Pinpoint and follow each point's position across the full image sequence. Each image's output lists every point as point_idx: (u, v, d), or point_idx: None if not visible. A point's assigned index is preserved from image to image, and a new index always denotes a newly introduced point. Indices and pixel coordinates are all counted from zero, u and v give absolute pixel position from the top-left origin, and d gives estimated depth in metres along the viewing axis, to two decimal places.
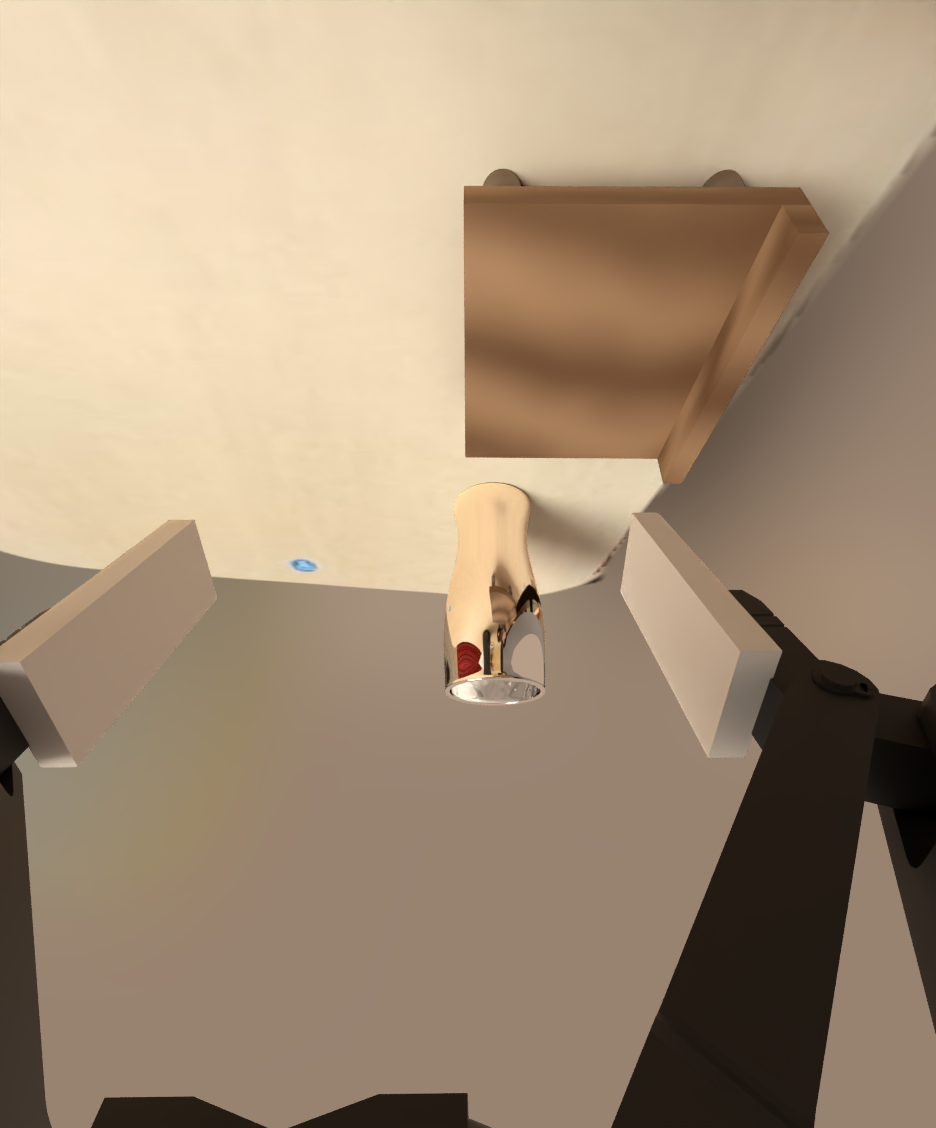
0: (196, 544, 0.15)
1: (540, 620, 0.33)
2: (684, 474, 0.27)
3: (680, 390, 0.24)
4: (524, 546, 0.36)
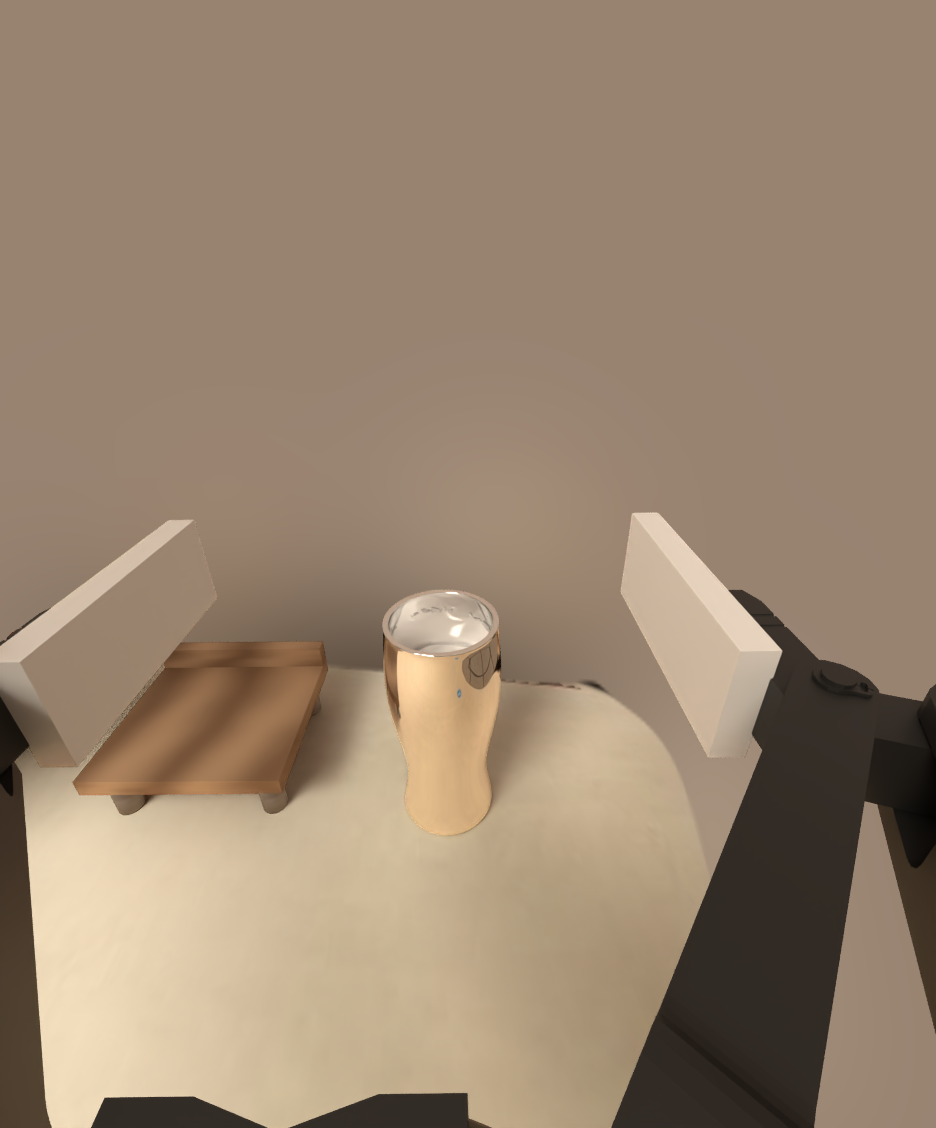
0: (196, 544, 0.15)
1: (419, 648, 0.33)
2: (313, 642, 0.41)
3: (261, 671, 0.41)
4: None
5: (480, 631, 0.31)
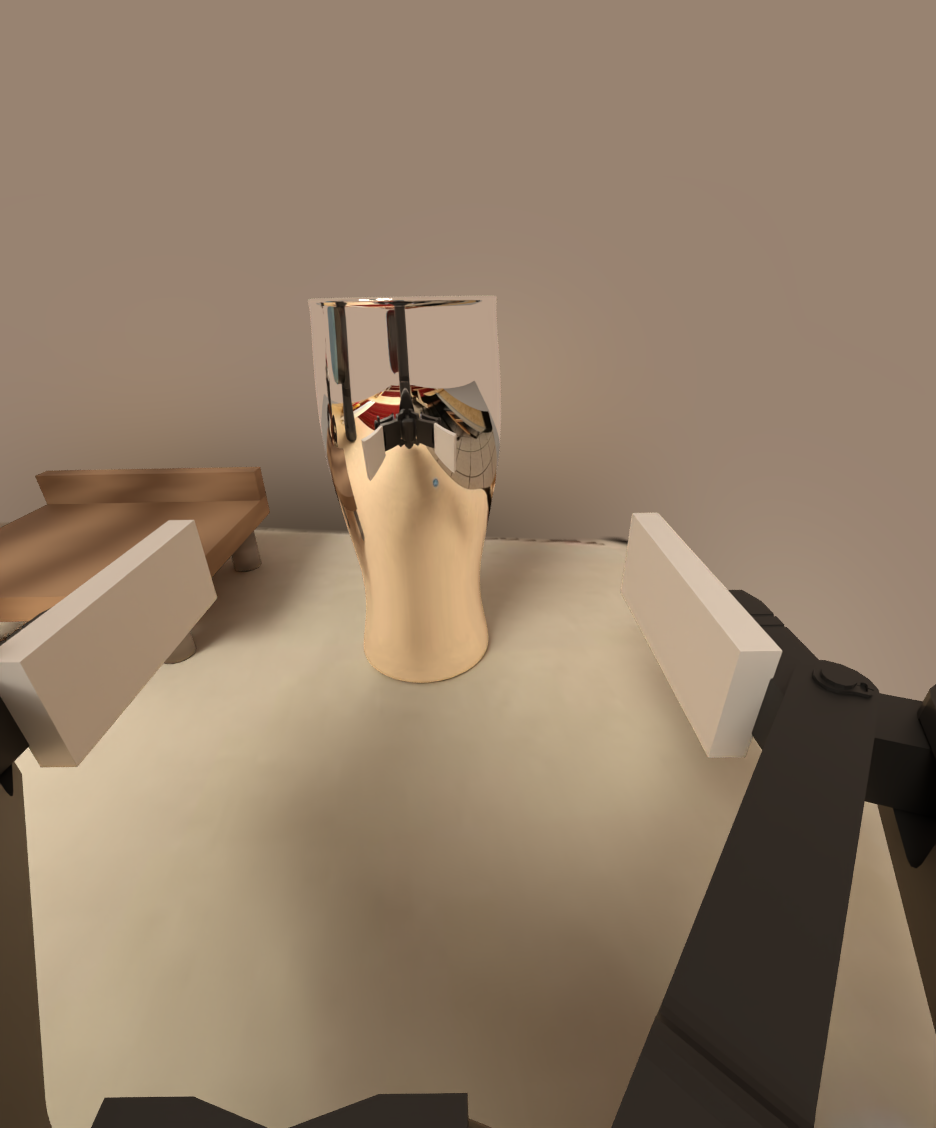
0: (196, 544, 0.15)
1: None
2: (246, 467, 0.30)
3: (176, 505, 0.30)
4: None
5: None
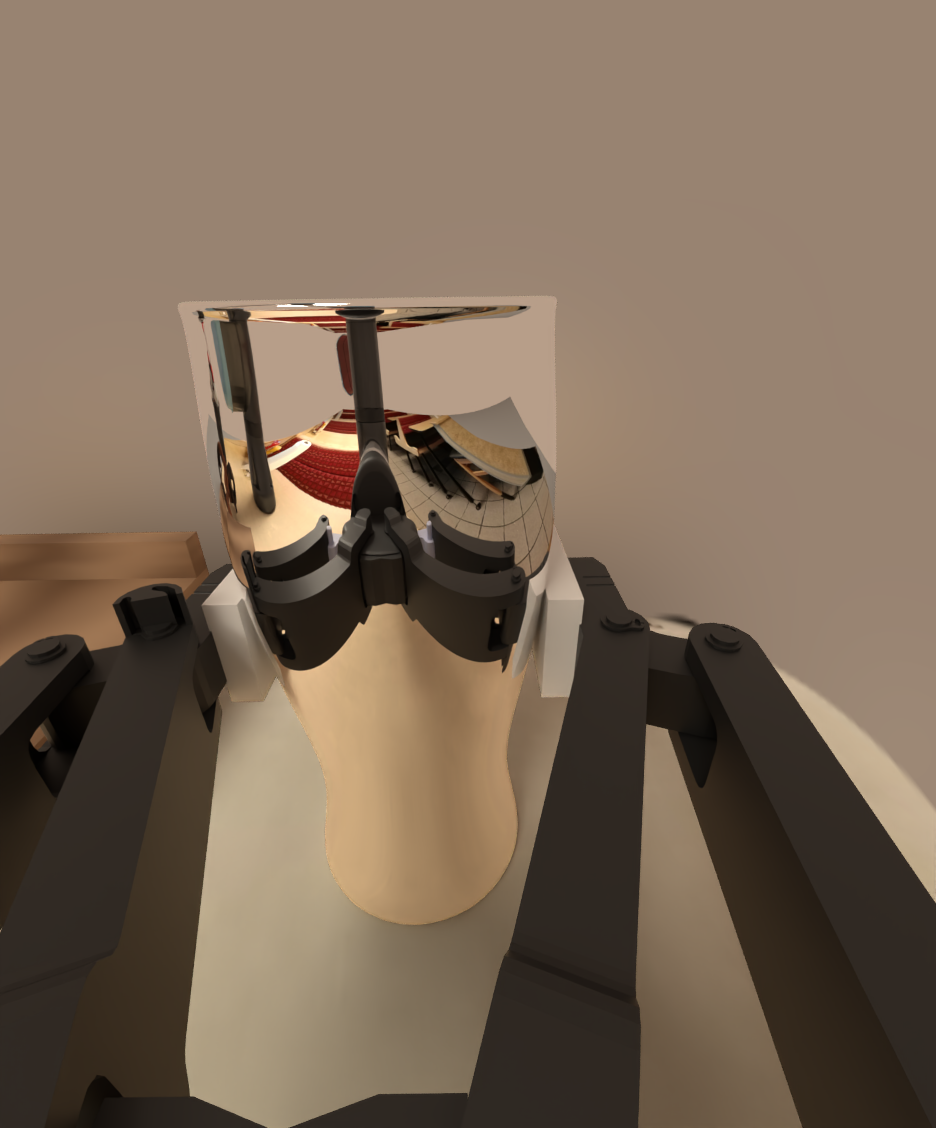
0: None
1: None
2: (177, 533, 0.22)
3: (79, 585, 0.22)
4: None
5: None
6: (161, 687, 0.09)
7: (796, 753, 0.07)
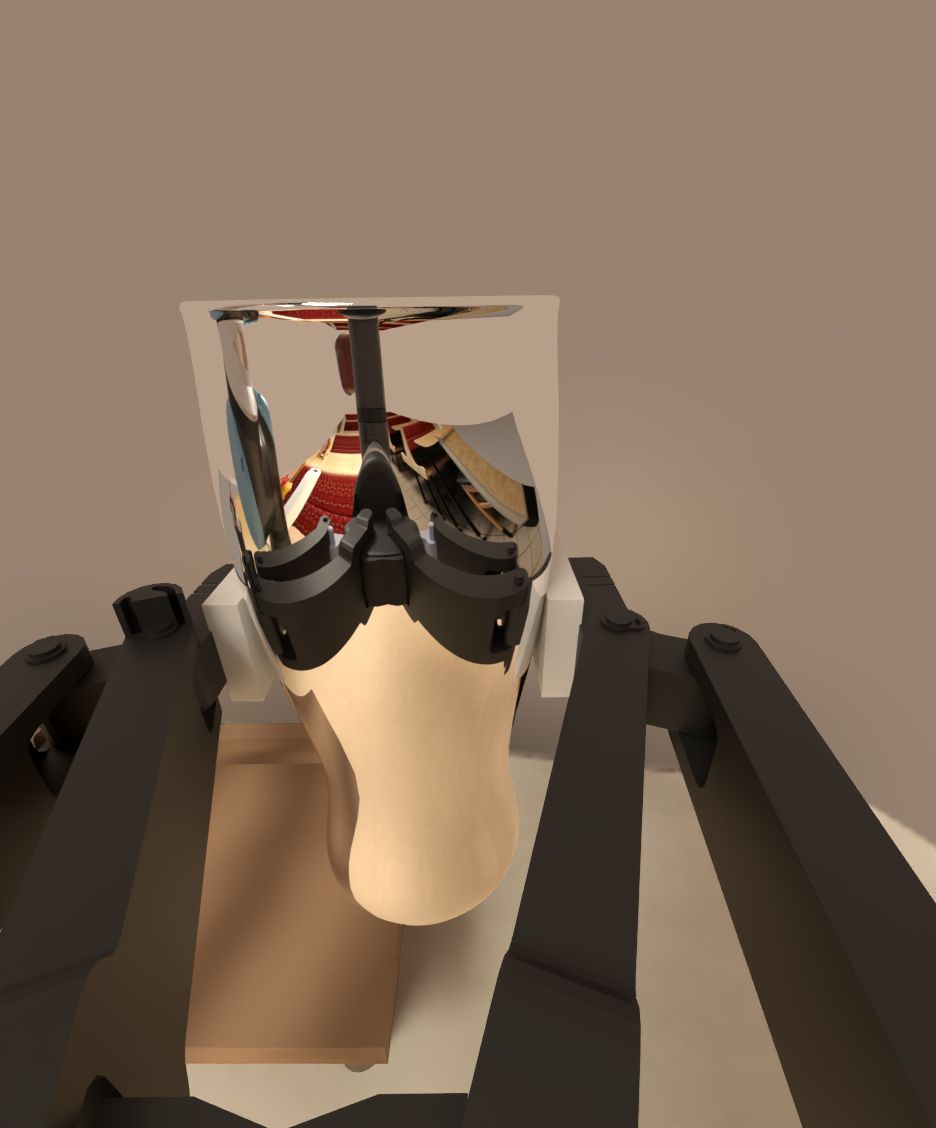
0: None
1: None
2: None
3: (320, 771, 0.25)
4: None
5: None
6: (161, 687, 0.09)
7: (796, 753, 0.07)
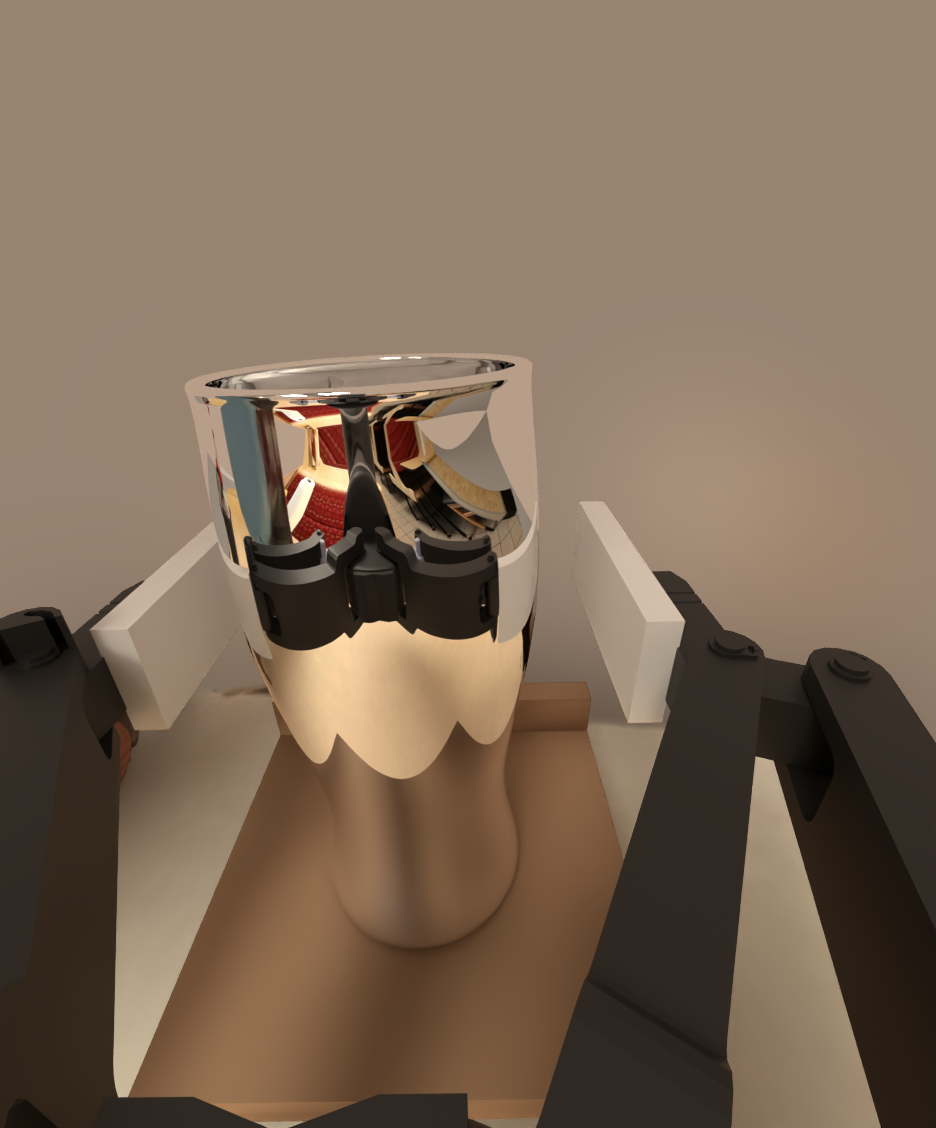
0: None
1: None
2: (568, 684, 0.21)
3: None
4: None
5: None
6: (47, 715, 0.08)
7: (931, 799, 0.06)
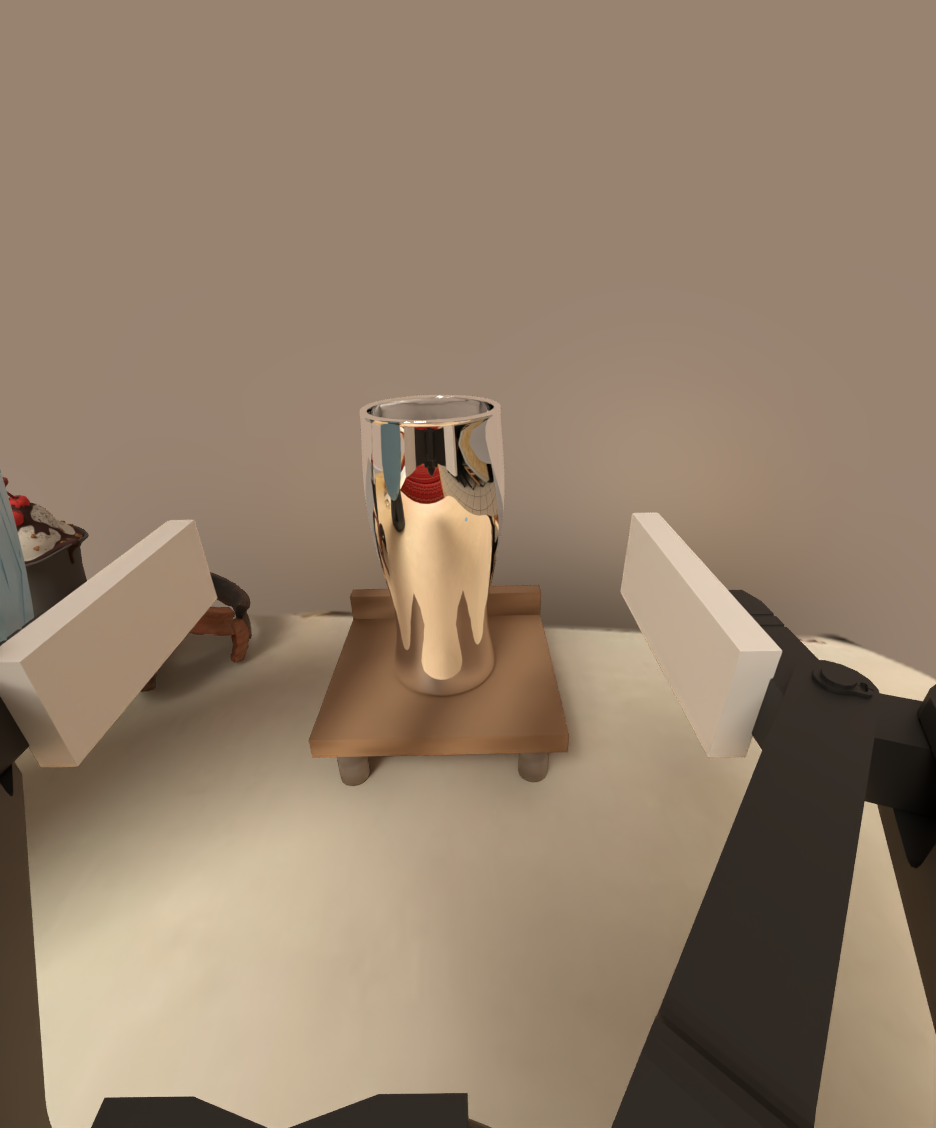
0: (196, 544, 0.15)
1: None
2: (528, 586, 0.35)
3: None
4: None
5: None
6: None
7: None
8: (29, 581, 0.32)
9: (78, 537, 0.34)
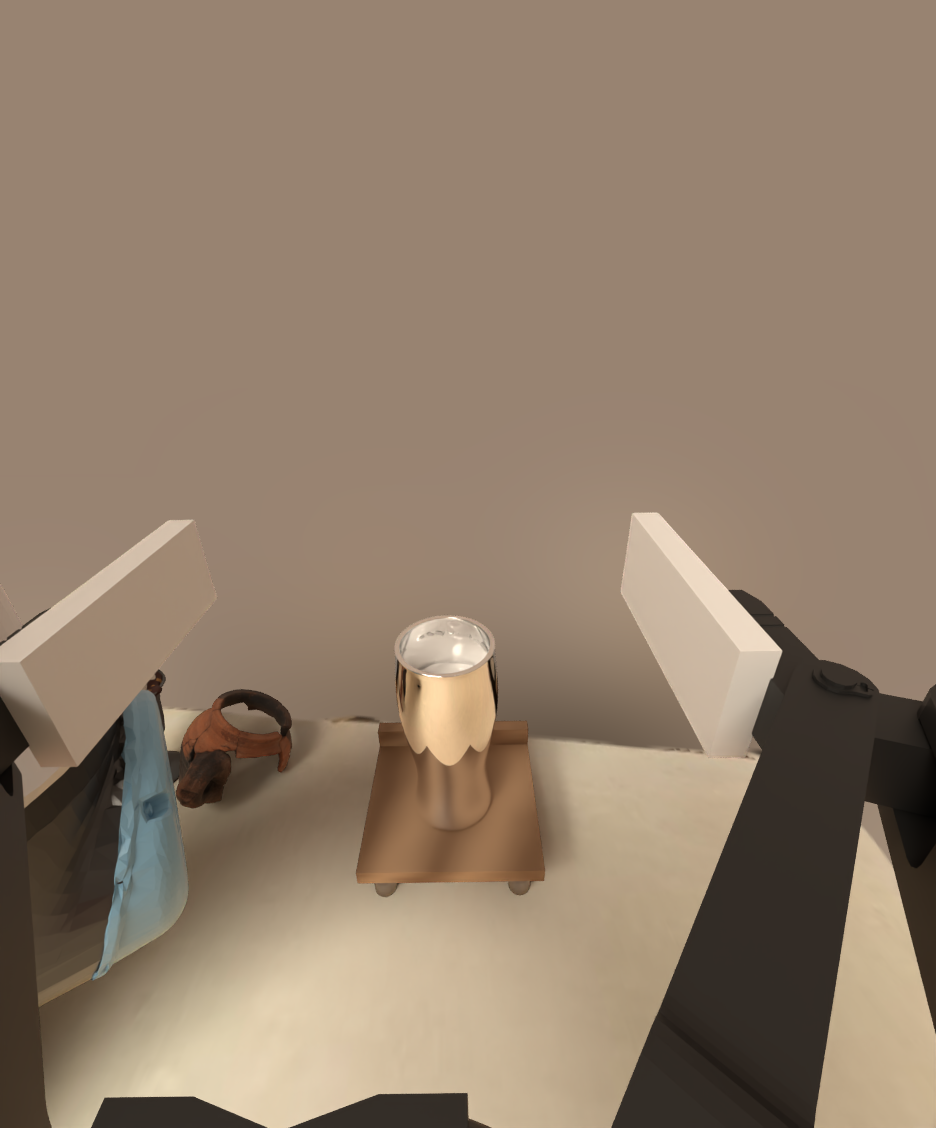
0: (196, 544, 0.15)
1: None
2: (518, 721, 0.44)
3: None
4: None
5: (478, 651, 0.36)
6: None
7: None
8: None
9: (159, 682, 0.43)
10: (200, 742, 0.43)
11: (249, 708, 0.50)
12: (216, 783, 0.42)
